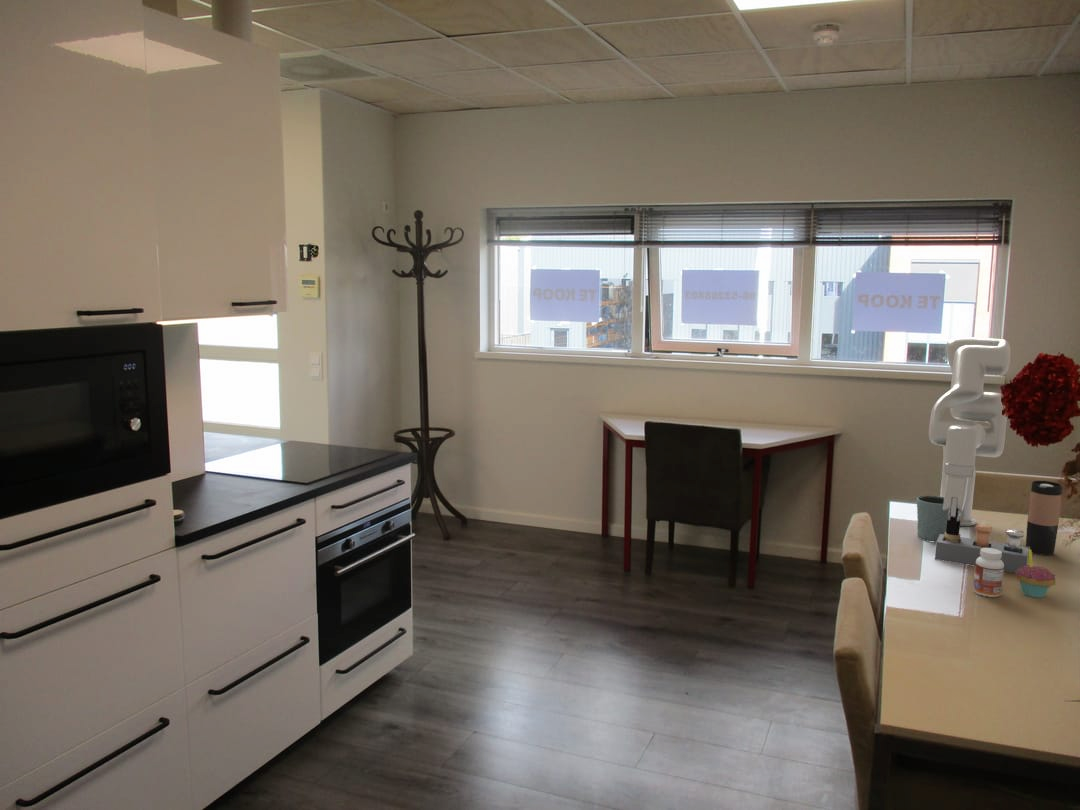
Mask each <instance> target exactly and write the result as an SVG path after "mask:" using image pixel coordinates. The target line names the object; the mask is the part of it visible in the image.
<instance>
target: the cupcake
mask: <svg viewBox="0 0 1080 810" xmlns="http://www.w3.org/2000/svg"><path fill="white" fill-rule="evenodd" d="M1028 562H1029V565H1027V566H1023V567H1021V568H1019V569H1018V570H1017V571H1016V573H1015V577H1016V579H1017V580H1018V581H1019V584H1020V588H1021V592H1022V594H1024V595H1025V596H1027V597H1031V598H1044V597H1045V595H1046V593H1047V591H1048V590H1049V588H1050V587H1053V586H1055V585H1056V583H1057V581H1056V578H1055V576H1056V575H1055V574H1054V573H1052V571H1050V570H1049V569H1048V568H1047V567H1046V568H1045V567H1043V566H1038V565H1033V553H1032V551H1031V549H1030V547H1029V550H1028Z"/></svg>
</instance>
